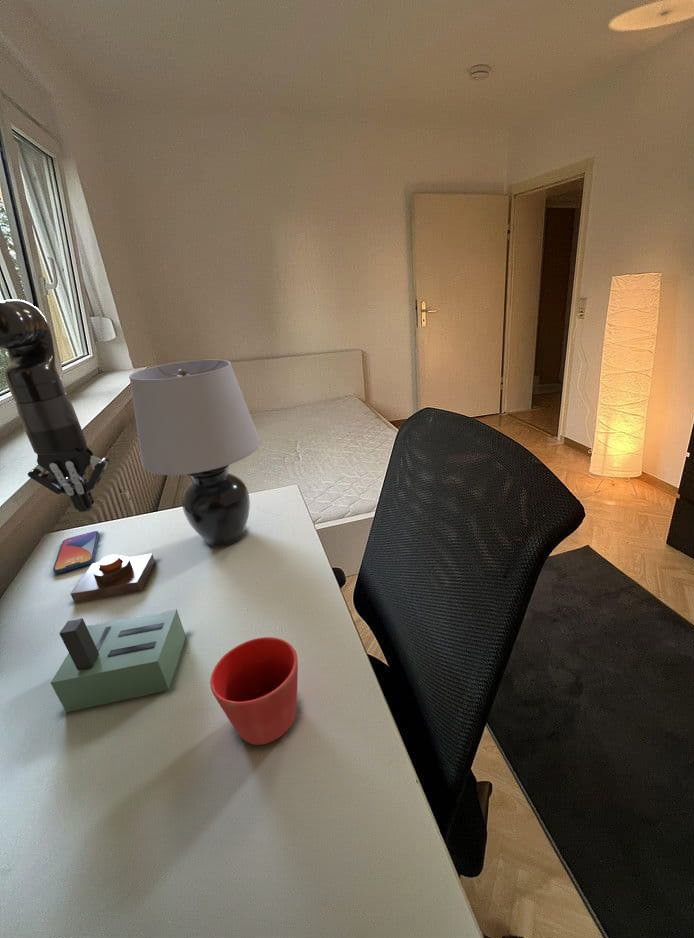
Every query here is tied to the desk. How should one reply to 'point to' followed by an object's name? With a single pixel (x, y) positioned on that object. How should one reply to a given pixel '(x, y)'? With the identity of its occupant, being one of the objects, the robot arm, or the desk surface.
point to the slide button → (79, 644)
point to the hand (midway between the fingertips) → (86, 509)
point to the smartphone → (76, 552)
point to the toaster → (124, 661)
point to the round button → (109, 563)
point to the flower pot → (258, 688)
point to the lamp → (197, 440)
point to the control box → (114, 578)
